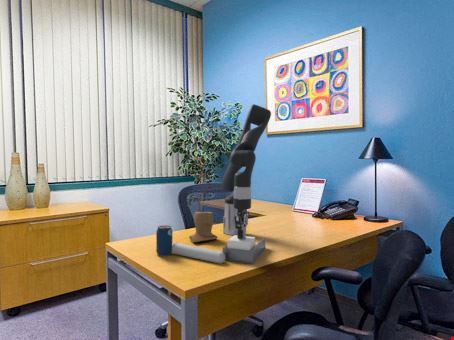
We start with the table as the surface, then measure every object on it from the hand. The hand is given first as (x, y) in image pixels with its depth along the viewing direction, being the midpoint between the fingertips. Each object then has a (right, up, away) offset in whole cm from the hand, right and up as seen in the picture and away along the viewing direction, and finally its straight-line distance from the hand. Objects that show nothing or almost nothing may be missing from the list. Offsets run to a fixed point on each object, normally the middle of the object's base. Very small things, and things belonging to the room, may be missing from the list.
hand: (241, 237), depth 131 cm
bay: (+2, -9, +6) cm, 11 cm away
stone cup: (-19, -8, +27) cm, 34 cm away
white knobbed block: (0, -8, 0) cm, 8 cm away
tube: (-18, -9, -1) cm, 20 cm away
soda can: (-34, -8, +4) cm, 35 cm away
